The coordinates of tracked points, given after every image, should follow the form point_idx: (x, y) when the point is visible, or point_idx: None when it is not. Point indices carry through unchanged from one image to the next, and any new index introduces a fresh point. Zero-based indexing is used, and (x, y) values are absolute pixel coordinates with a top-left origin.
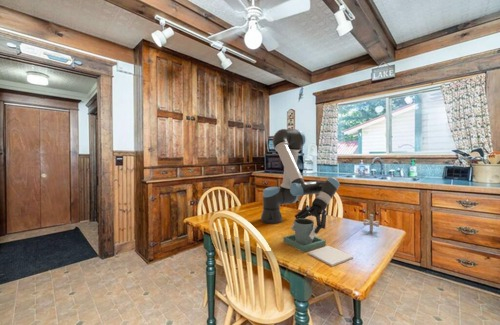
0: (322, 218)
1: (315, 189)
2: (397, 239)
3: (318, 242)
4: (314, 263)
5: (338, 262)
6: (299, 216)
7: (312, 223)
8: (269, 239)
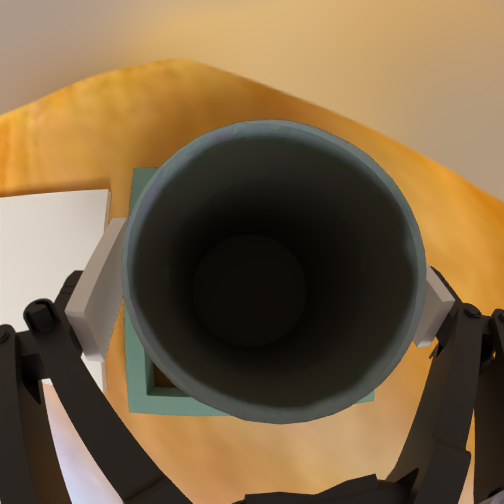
0: (2, 434)
1: None
2: None
3: (126, 331)
4: (35, 151)
5: None
6: (467, 337)
7: (126, 303)
8: (405, 145)
